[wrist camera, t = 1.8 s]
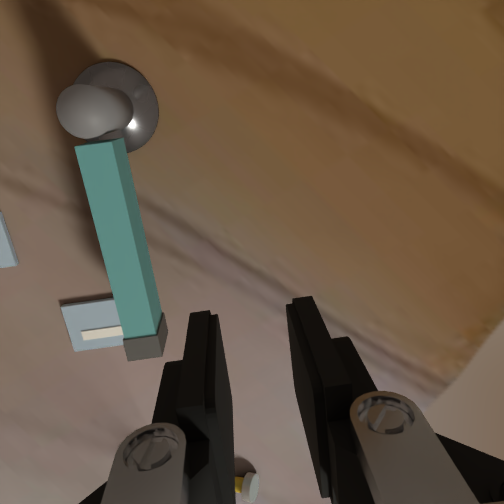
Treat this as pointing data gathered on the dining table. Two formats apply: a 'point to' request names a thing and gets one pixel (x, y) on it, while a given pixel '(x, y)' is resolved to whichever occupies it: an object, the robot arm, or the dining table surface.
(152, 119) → the pivot plate
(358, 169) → the dining table surface
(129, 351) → the boom bar
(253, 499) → the reed diffuser
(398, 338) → the dining table surface
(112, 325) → the label cards
